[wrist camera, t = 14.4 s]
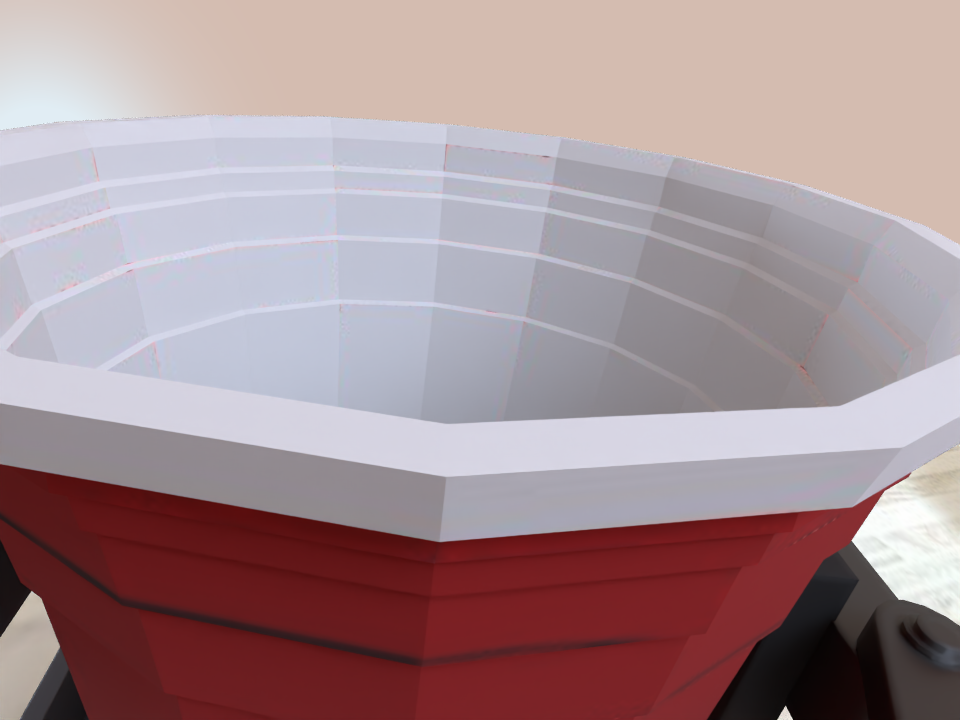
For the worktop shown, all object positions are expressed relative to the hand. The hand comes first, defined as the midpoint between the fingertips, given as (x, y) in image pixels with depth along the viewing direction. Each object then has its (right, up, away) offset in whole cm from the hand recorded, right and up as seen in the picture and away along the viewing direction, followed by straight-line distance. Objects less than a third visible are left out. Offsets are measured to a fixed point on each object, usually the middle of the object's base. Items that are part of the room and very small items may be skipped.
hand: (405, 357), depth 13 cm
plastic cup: (-1, -9, -2) cm, 9 cm away
